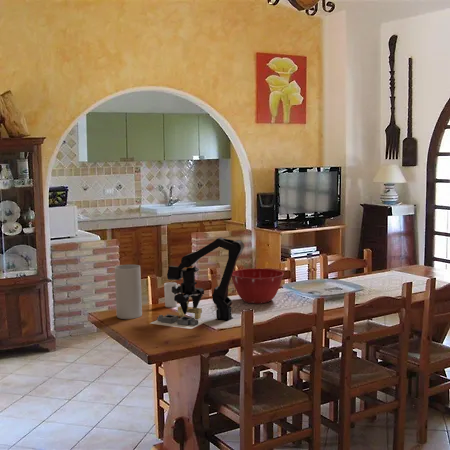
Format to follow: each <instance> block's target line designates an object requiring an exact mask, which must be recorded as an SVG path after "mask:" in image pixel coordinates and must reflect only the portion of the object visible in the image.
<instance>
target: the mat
mask: <svg viewBox="0 0 450 450" xmlns="http://www.w3.org/2000/svg"><path fill="white" fill-rule="evenodd" d="M178 319H179V317H178ZM205 323H206V321H202V320H198V325H196V326H192V325H189V326H184V325H177V322H174V323H172V324H169V323H162V322H161V321H157V320H155V321H152V322H150V323H149V324H150V325H151V324H153V325H158V326H165V327H172V328H173V327H174V328H181V329H188V330H192V329H195V328H196V327H199V326H200V325H202V324H205Z"/></svg>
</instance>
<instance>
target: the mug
mask: <svg viewBox="0 0 450 450" xmlns="http://www.w3.org/2000/svg"><path fill="white" fill-rule="evenodd" d="M173 286H177V287H178V286H181V283H180V284H179V283H177V282H174V281H173V282H171V281H170V282H165V283H163V290H164V306H165V308H175V307H178V302H176V301H174V296H175V295H177V294H178V293H177V294H174V293H173V292H172V287H173ZM179 294H182V293H181V292H180V293H179Z"/></svg>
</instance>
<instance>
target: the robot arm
mask: <svg viewBox="0 0 450 450" xmlns="http://www.w3.org/2000/svg"><path fill="white" fill-rule="evenodd" d="M218 248H222V249H223V250H226V251H228V254H227V255H228V258H227V261H226V263H225V268H224V272H223V274H222V276H221V280H220V283H219V285H217V286H216V287H214V289H213V293H212V295H211V297H212V299H211V300H212V302H213V304H214V305H215V307H216V310H215V312H216V313H215V314H216V319H215V321H222V322H229V321H231V320H233V319H234V317H233V316H232V313H233V311H232V303H233V301H232V299H231V298H230V297H229V285H230V282H231V280H232V274H233V271H235V268H236V264H237V261H238V259H239V257H240V256H241V254H242V252H243V250H244V248H245V244H244V242H243V241H242V240H240V239H236V240H233V239H229V238H224V237H218V238H216V239H215V240H213V241H212V242H210V243H208V244H207V245H205V246H204V247H202V248H200V249H198V250H196V251H193V252H191V253H188V254H185V255H184V256H182V258H181V262H180V264H179V265H178V266H177V265H169V266H168V270H167V274H166V277H167V279H168V281H169V280H170V281H180V280H181V279H183V280H182V282H181V283H180V286H178V287H177V286H173V287H172V292H173V293H174V294H177V295H175V296H174V301H176V302H177V304H179V305H180V306H181V308H182V310H183V313H184V314H185V315H187V309H188V307H189V304H190V300H189V299H190V297H191V299H192V306H193V307H194V308H198V306H199V304H200V301H201V299H202V298H203V296H204V295H205V289H204V288H203V287H196V285H197V282H198V281H196V278H195V277H196V275H195V273H197V272H199V268H198V267H197V266H196V265H195V264H196V263H197V262H198V261H199V260H200V259H202V258H203V257H204V256H206V255H207V254H209V253H211V252H213V251H214V250H216V249H218ZM194 265H195V266H194ZM192 266H193V267H192ZM180 292H181V293H182V294H180Z"/></svg>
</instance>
